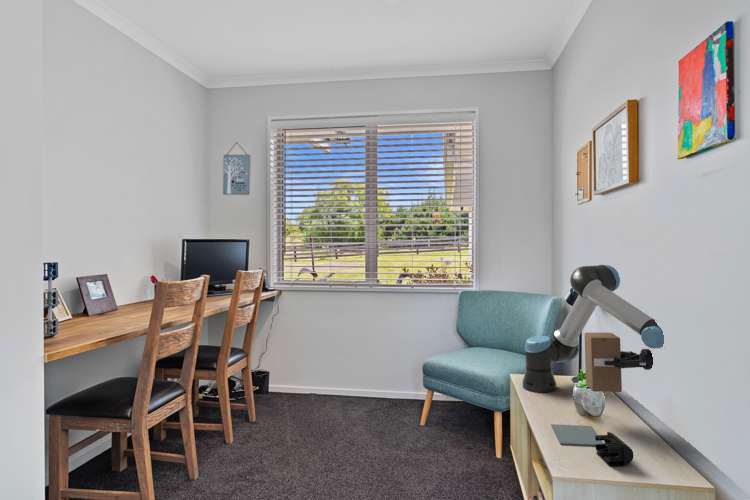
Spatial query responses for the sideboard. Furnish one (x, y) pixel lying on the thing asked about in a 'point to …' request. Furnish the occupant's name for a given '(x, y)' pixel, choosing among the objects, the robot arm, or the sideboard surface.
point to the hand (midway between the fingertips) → (590, 358)
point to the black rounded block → (613, 450)
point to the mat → (576, 435)
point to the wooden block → (602, 375)
